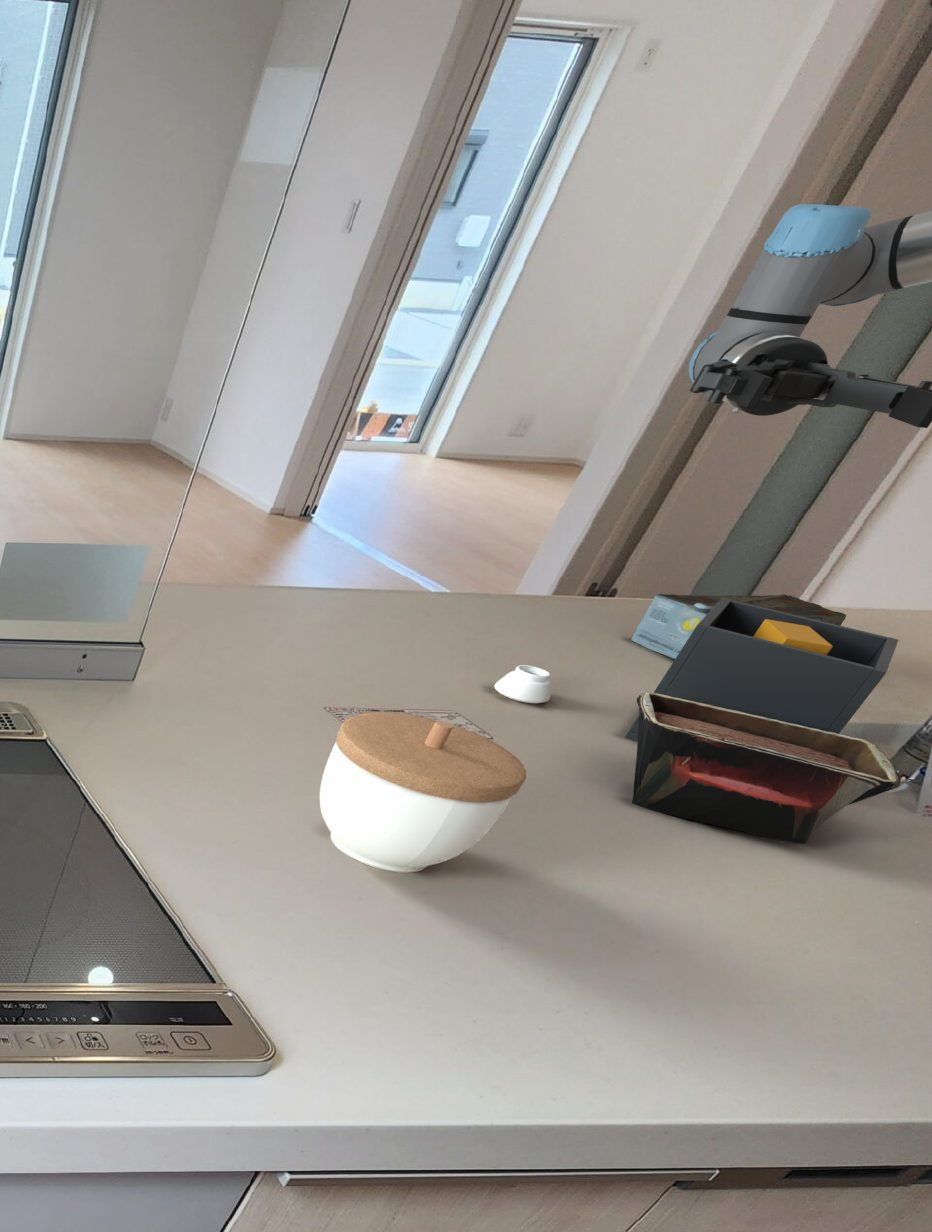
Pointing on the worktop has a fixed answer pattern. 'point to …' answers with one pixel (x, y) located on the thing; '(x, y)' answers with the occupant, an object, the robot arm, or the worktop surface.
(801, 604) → the beverage carton
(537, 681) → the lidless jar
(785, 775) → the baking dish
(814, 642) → the block
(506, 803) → the lidded bowl
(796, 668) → the bin
